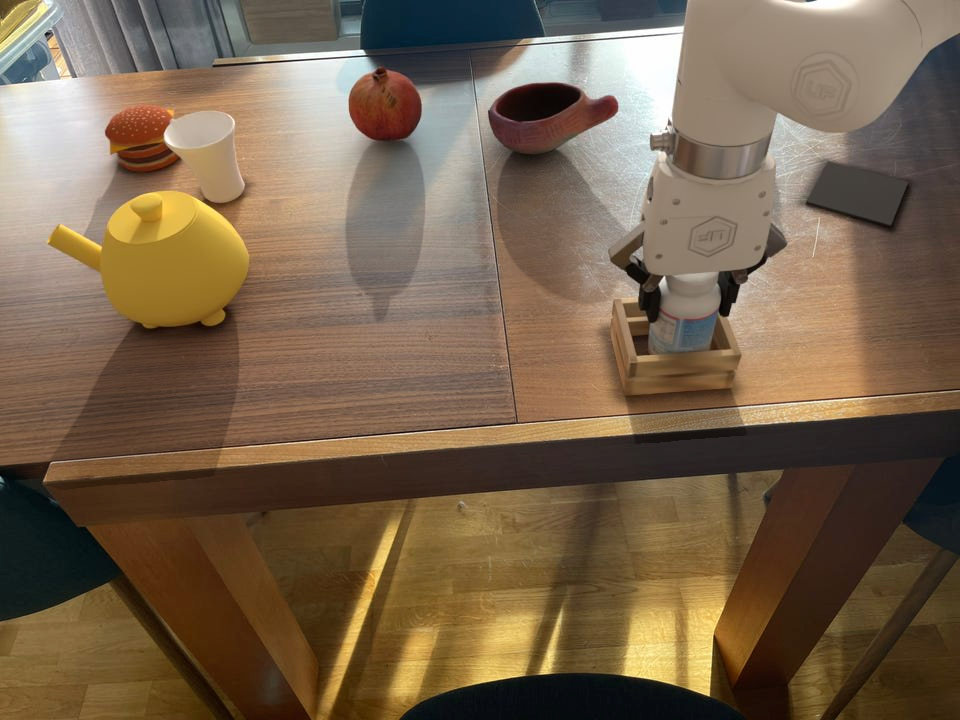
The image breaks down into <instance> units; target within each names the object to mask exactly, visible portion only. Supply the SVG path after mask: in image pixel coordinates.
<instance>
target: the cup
mask: <svg viewBox="0 0 960 720" xmlns="http://www.w3.org/2000/svg"><path fill="white" fill-rule="evenodd" d="M235 131H236V122H235V119H234V118H233V117H232V116H231V115H230V114H228V113H225V112H224V111H219V110H201V111H194V112H190V113H187V114H185V115H183V116H181V117H179V118H176V119H175V118H174V119H171V120H170V125H169V126H168V127H167V128H166V130H165V132H164V142H165V144H166V145H167V146H168V147H169V148H170V149H171V150H172V151H173V152H175V153H176V154H177V155H178V156H179V159H181V160H182V161H183V163H184V164H185V166H186V167H187V168H189V170H190V171H191V172H192V174H193V175H194V178H195V179H196V181H197V183H198V186H199V188H200V190H201V192H202V195H203V197H204V198H205V199H206V200H207V201H209V202H211V203H216V204H225V203H230V202H232V201H234V200H236V199H238V198H239V197H240V196H241V195H242V194H243V192H244V190H245V186H246V184H245V181H244V180H243V177H242V175H241V172H240V169H239V165H238V160H237V153H236V145H235Z"/></svg>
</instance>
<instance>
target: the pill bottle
mask: <svg viewBox="0 0 960 720" xmlns="http://www.w3.org/2000/svg"><path fill="white" fill-rule="evenodd" d="M718 275H719V272H707V273H695V274H683V275H668V276H664V277H663V279H662V280H661V282H660V283H659V287H660V290H661V299H660V306H659V312H658V318H657V321H655V323H650V331H649V335H648V339H647V351H648V354H649V355H660V354H674V353H688V352H702V351H710V350H709V349H710V345H711V341H712V336H713V332H714V328H715V323H716V319H717V315H718V311H719V306H720V302H721V290H720V287H719V285H718V284H717V281H718Z"/></svg>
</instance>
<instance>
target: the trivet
mask: <svg viewBox="0 0 960 720" xmlns="http://www.w3.org/2000/svg"><path fill="white" fill-rule="evenodd" d="M908 185H909V181H907V180H903V179H899V178H896V177H895V178H894V177H891V176H887V175H883V174H880V173H876V172H871V171H867V170H864V169H860V168H857V167H852V166H848V165H845V164H840V163H836V162H834V161H830V160H827V161H826V163H825V165H824V167H823V169H822V170H821V172H820V174H819V176H818V178H817V180H816V182H815V184H814V186H813V188H812V189H811V191H810V193H809V195H808V197H807V198H806V201H805V205H806V204H807V205H810V206H812V207H813V206H814V207H818V208H821V209H825V210H828V211H831V212H835V213H838V214H842V215H846V216H849V217H852V218H856V219H859V220H864V221H866V222H867V221H868V222H870V223H873V224H877V225H881V226H885V227H888V228H891V227H892V224H893V223H894V219H895V216H896V214H897V212H898V210H899V207H900V204H901V202H902V199H903V197H904V194H905V192H906V190H907V187H908Z"/></svg>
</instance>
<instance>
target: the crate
mask: <svg viewBox="0 0 960 720" xmlns="http://www.w3.org/2000/svg"><path fill="white" fill-rule="evenodd" d="M611 316H612V317H611V319H610V320H611V321H610V326H609V335H610V340H611V344H612V348H613V352H614V356H615V361H616V365H617V369H618V373H619V376H620V381H621V382H620V383H621V385H622V390H623V394H624V396H627V397H628V396H641V395H653V394H667V393H681V392H694V391H708V390H724V389H732V386H733V383H734V380H735V378H736V370H738V369H739V364H740V362H741V359H742V356H743V355H742V351H741V348H740V347H739V344H738V342H737V339H736V337H735V334H734V332H733V329H732V326H731V324H730V321H729V319H728V317H722V316H720V314H719V312H718V315H717V319H716V323H715V328H714V332H713V336H712V341H711V345H710V349H709V351H702V352H688V353H674V354H660V355H650V354H649V355H648V354H647V355H637V352H636V348H635V345H634V341H633V337H635V336H647V335H648V336H649V331H650V323H649V322H648V319H647V315H646V312H645V311H640V308H639V304H638V296H632V297H618V298H617V297H616V298H613V302H612V310H611Z"/></svg>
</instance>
